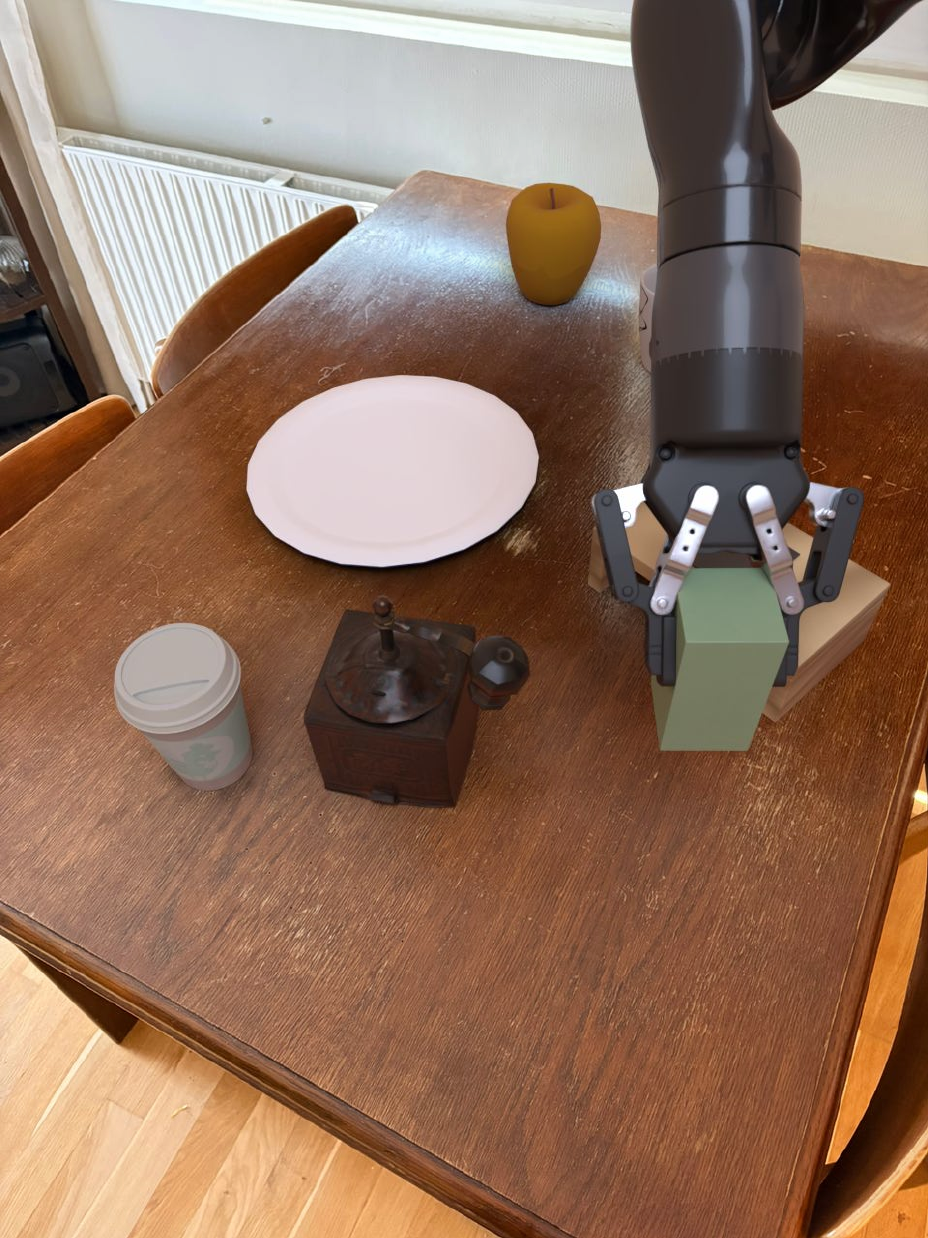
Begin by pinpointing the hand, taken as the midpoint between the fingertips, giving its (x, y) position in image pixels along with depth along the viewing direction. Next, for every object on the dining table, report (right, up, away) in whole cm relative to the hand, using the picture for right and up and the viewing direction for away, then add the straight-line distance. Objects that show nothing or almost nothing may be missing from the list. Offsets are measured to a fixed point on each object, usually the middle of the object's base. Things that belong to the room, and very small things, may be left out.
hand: (720, 683), depth 47 cm
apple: (-3, +44, +64) cm, 77 cm away
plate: (-21, +18, +43) cm, 51 cm away
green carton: (0, -2, +5) cm, 6 cm away
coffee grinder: (-16, -7, +22) cm, 28 cm away
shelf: (+8, +4, +29) cm, 31 cm away
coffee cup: (-33, -8, +22) cm, 40 cm away
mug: (+9, +31, +52) cm, 61 cm away
